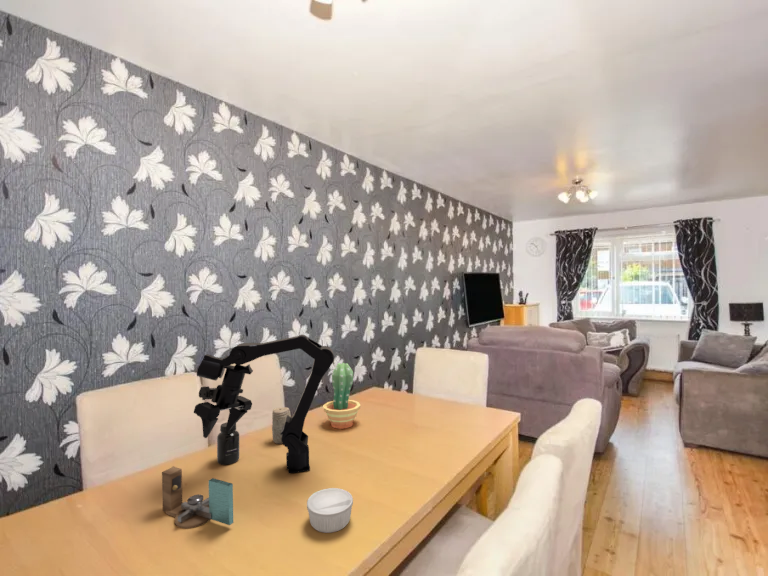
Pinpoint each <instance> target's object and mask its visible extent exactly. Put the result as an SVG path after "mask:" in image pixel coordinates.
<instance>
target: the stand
mask: <svg viewBox="0 0 768 576" xmlns="http://www.w3.org/2000/svg"><path fill="white" fill-rule="evenodd" d="M161 482H162V483H161V486H162V493H161V494H162V495H161V498H162V511H163V512H165V514H166V515H168V516H171V517H174V519H175V520H174V523H175V525H176V526H177V527H178V528H180V529H193V528H198V527H200V526H203V525H204V524H206V523H208V522H210V521H211V520H212V519H208V518H205V517H202V516H199V515H192V516H191V517H189V518H188V519H186V520H184V521H183V522H178V516H179V515H181V514H182V513H184V512H185V511H186V510H183V509H181V504H182V503H184V502H185V501H183V471H182V468H180V467H176V466H172V467H169V468H168V469H166V470H163V471H162V472H161ZM206 507H208V508H209V505H208V506H206Z"/></svg>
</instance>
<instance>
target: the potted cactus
mask: <svg viewBox="0 0 768 576" xmlns="http://www.w3.org/2000/svg"><path fill="white" fill-rule="evenodd" d="M331 382H332V383H331V385H332V387H333V400H331V401H327V402H325V403H324V404H323V406H322V407H323V411H324V413H326V417H327V420H328V421H330V423H331V427H332V428H334V429H340V430H341V429H347V428H350V427H352V426H353V425H354V420H355V419H356V417H357V415H358V411H359V410H360V409H361V404H360V402H359V401H357V400H355V399H350V398H349V397H350V393H351V389H352V386H353V384H354V371H353V369H352V368H351V367H350V365H349V364H348V363H345V362H342V363H340V362H338V363H337V365H336V366H335V367H334V369H333V371H332V373H331Z"/></svg>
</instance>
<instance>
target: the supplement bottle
mask: <svg viewBox="0 0 768 576" xmlns="http://www.w3.org/2000/svg"><path fill="white" fill-rule="evenodd" d="M226 426H227V422H222V424H220V430H219V433H218V434H217V436H216V459H217V461H216V462H217V464H219V465H223V466H226V465H231V464H234V463H237V462H238V461H239V459H240V432H239V431H238V430H237V423H236V424H235V425H234V426H233V427H232V428H231V430H230V431H226Z"/></svg>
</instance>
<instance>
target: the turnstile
mask: <svg viewBox="0 0 768 576" xmlns="http://www.w3.org/2000/svg"><path fill="white" fill-rule="evenodd" d="M233 490H234V486H233V483H232V482H227V481H225V480H222V479H221V480H220V479H218V478H214V477H212V478H210V479H208V497H206V498H205V499H204V495H202V494H194V495H192V496H189V497H188V499H187V501H183V502H184V503H182V504H181V509H183V510H186V511H185V512H184V513H182V514H181V515H179V516H178V522H183V521H184V520H186V519H188V518H189V517H191V516H192V515H199V516H202V517H205V518H208V519H211V520H213V521H216V522H219V523H221V524H224V525H227V526H231V525H232V524H234V491H233ZM208 505H209V508H208V507H206V506H208Z"/></svg>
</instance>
